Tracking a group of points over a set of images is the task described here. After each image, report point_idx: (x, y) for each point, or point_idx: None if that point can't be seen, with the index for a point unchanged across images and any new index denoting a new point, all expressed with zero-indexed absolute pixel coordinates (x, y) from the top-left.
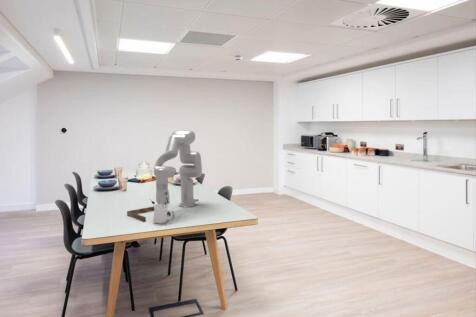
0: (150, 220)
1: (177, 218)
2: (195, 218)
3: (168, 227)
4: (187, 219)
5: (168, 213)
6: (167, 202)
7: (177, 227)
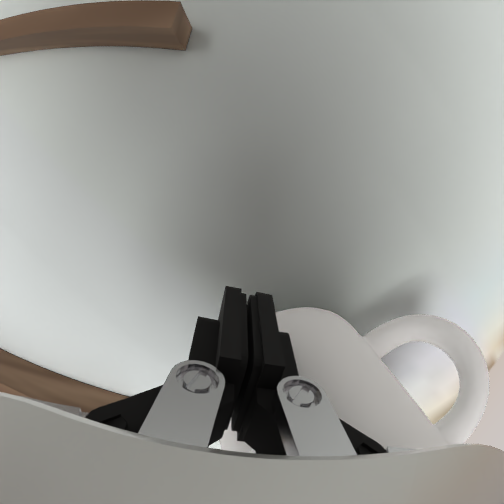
0: (128, 354)
1: (350, 101)
2: (494, 36)
3: (441, 391)
4: (470, 95)
5: (89, 40)
6: (425, 485)
7: (494, 350)
